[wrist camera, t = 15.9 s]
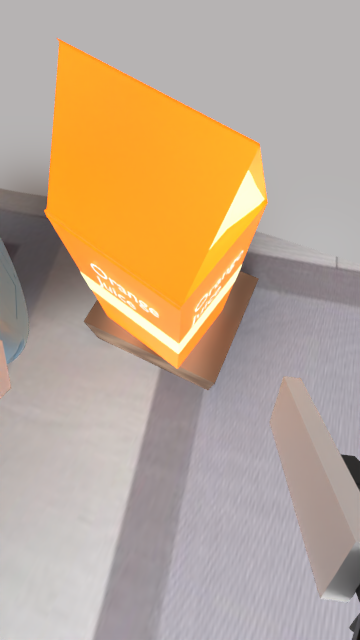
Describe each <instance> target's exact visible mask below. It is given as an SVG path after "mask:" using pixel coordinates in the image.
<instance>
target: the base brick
mask: <svg viewBox="0 0 360 640" xmlns="http://www.w3.org/2000/svg"><path fill="white" fill-rule="evenodd" d="M257 281H258V278H256V277H253V276H251V275H248V274H246V273H244V272H241V271H239V273H238V276H237V278H236V280H235V282H234V284H233V286H232V288H231V291H230V293H229V296H228V298H227V300H226V303H225V305H224V307H223V310H222V311H221V313H220V314H219V315H218V317H217V318H216V319H215V320H214V322H213V323H212V324H211V326H210V327H209V328H208V330H207V331H206V332H205V334H204V335H203V336H202V338H201V339H200V340H199V341H198V343H197V344H196V345H195V347H194V348H193V349H192V351H191V352H190V353H189V355H188V356H187V357H186V359H185V360H184V361H183V362H182V364H181V365H180V366H179V368H178V369H177V368H175V367H174V366H173V365H172V364H170V363H169V362H168V361H166V360H165V359H164V358H162V357H161V356H160V355H158V354H157V353H156V352H154V351H153V350H152V349H150V348H149V347H148V346H146V345H145V344H144V343H142V342H141V341H140V340H139V339H137V338H136V337H135V336H133V335H132V334H131V333H129V332H128V331H127V330H125V329H124V328H123V327H121V326H120V325H119V324H117V323H116V322H115V321H113V320H112V319H111V318H110V317H108V316H107V314H106V312H105V311H104V309H103V307H102V306H101V304H100V303H99V301H98V300H97V301H96V303H95V304H94V306H93V307H92V309H91V311H90V312H89V314H88V315H87V317H86V319H85V320H84V322H85V324H86V325H87V326H88V327H89V328H90V329H91V330H92V331H93V332H94V333H95V335H96V336H97V337H98V338H100V339H102V340H104V341H106V342H108V343H110V344H112V345H114V346H117V347H119V348H121V349H123V350H125V351H127V352H129V353H131V354H133V355H135V356H137V357H140V358H142V359H144V360H146V361H148V362H150V363H152V364H154V365H156V366H158V367H160V368H163V369H165V370H167V371H169V372H171V373H173V374H175V375H177V376H179V377H181V378H184V379H186V380H188V381H190V382H192V383H194V384H196V385H198V386H200V387H202V388H204V389H207V390H209V389H210V388H211V387H212V386H213V384H214V383H215V381H216V379H217V377H218V374H219V372H220V369H221V367H222V365H223V362H224V360H225V358H226V355H227V353H228V350H229V348H230V346H231V343H232V341H233V339H234V336H235V334H236V331H237V329H238V327H239V324H240V322H241V319H242V317H243V315H244V312H245V310H246V308H247V305H248V303H249V300H250V298H251V296H252V293H253V291H254V289H255V286H256V284H257Z"/></svg>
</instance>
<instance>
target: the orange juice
mask: <svg viewBox="0 0 360 640" xmlns="http://www.w3.org/2000/svg"><path fill="white" fill-rule="evenodd" d="M58 40H59V55H58V68H57V82H56V94H55V107H54V120H53V134H52V146H51V159H50V173H49V185H48V198H47V209H45V210H44V212H45V214H46V217H47V218H48V219H49V220H50V222H51V223H52V225H53V227H54V228H55V230H56V232H57V233H58V235H59V237H60V238H61V240H62V242H63V243H64V245H65V247H66V248H67V250H68V251H69V253H70V255H71V256H72V258H73V260H74V261H75V263H76V265H77V266H78V268H79V270H80V273H81V274H82V276H83V277H84V279H85V281H86V282H87V284H88V286H89V287H90V289H92V291H93V293H94V294H95V296H96V298H97V299H98V301H99V303H100V304H101V306H102V307H103V309H104V311H105V312H106V314H107V316H108V317H110V318H111V319H112V320H113V321H115V322H116V323H117V324H119V325H120V326H121V327H123V328H124V329H125V330H127V331H128V332H129V333H131V334H132V335H133V336H135V337H136V338H137V339H139V340H140V341H141V342H142V343H144V344H145V345H146V346H148V347H149V348H150V349H152V350H153V351H154V352H156V353H157V354H158V355H160V356H161V357H162V358H164V359H165V360H166V361H168V362H169V363H170V364H172V365H173V366H174V367H175V368H177V369H178V368H179V366H180V365H181V364H182V362H183V361H184V360H185V359H186V357H187V356H188V355H189V353H190V352H191V351H192V349H193V348H194V347H195V345H196V344H197V343H198V341H199V340H200V339H201V338H202V336H203V335H204V334H205V332H206V331H207V330H208V328H209V327H210V326H211V324H212V323H213V322H214V320H215V319H216V318H217V317H218V315H219V314H220V313H221V311H222V310H223V307H224V305H225V303H226V300H227V298H228V296H229V293H230V291H231V288H232V286H233V284H234V282H235V280H236V278H237V276H238V273H239V271H240V269H241V266H242V262H243V260H244V257H245V255H246V253H247V250H248V248H249V245H250V243H251V241H252V238H253V236H254V233H255V231H256V229H257V226H258V224H259V221H260V219H261V217H262V214H263V212H264V210H265V207H266V205H267V196H266V188H265V182H264V174H263V166H262V159H261V151H260V144H259V143H257V142H255V141H254V140H252V139H250V138H248V137H246V136H244V135H242V134H240V133H238V132H236V131H234V130H232V129H230V128H229V127H227V126H225V125H222V124H221V123H219V122H217V121H215V120H213V119H211V118H209V117H207V116H206V115H204V114H202V113H200V112H198V111H196V110H194V109H192V108H190V107H188V106H186V105H184V104H182V103H180V102H179V101H177V100H175V99H173V98H171V97H169V96H167V95H165V94H163V93H161V92H159V91H157V90H156V89H154V88H152V87H150V86H148V85H146V84H144V83H142V82H140V81H138V80H136V79H134V78H133V77H131V76H129V75H127V74H125V73H123V72H121V71H119V70H117V69H115V68H113V67H111V66H109V65H108V64H106V63H104V62H102V61H100V60H98V59H96V58H94V57H92V56H90V55H88V54H86V53H84V52H83V51H81V50H79V49H77V48H75V47H73V46H71V45H69V44H67V43H65V42H63V41H61V40H60V39H58Z"/></svg>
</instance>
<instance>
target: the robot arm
mask: <svg viewBox="0 0 360 640" xmlns="http://www.w3.org/2000/svg"><path fill="white" fill-rule="evenodd" d="M28 334H29V319H28V312H27V307H26V302H25V298H24V295H23V291H22V288H21V285H20V282H19V279H18V276H17V273H16V271H15V268H14V266H13V263H12V261H11V259H10V256H9V254H8V252H7V250H6V248H5V245H4V243H3V241H2V239H1V237H0V398H1V397H2V396H3V395H4V394H5V393H6V392H7V391H8V390H9V389H10V388H11V384H10V379H9V374H8V368H7V364H9V363H10V362H12V361H13V360H14V359H15V358H17V357H18V356H19V355H20V354H21V352H22V351H23V349H24V347H25V345H26V342H27V339H28ZM270 425H271V429H272V432H273V436H274V439H275V443H276V446H277V450H278V453H279V457H280V460H281V463H282V467H283V470H284V474H285V477H286V481H287V484H288V488H289V491H290V495H291V498H292V502H293V505H294V509H295V512H296V516H297V519H298V523H299V526H300V530H301V533H302V537H303V540H304V544H305V547H306V551H307V554H308V558H309V561H310V565H311V568H312V572H313V575H314V579H315V582H316V586H317V589H318V593H319V596H320V599H326V600H333V601H339V602H346V603H348V602H349V601H350V599H351V598H352V597H353V595H354V594H355V592H356V594H357V596H358V599H359V601H360V461H359V460H358V459H357V458H356V457H355V456H349V455H341V454H340V453H339V451H338V449H337V447H336V445H335V443H334V441H333V439H332V437H331V435H330V434H329V432H328V430H327V428H326V426H325V424H324V422H323V420H322V418H321V416H320V414H319V412H318V411H317V409H316V407H315V405H314V403H313V401H312V399H311V397H310V395H309V393H308V391H307V390H306V388H305V386H304V384H303V382H302V380H301V378H293V377H286V376H284V377H283V380H282V383H281V387H280V390H279V393H278V396H277V400H276V403H275V406H274V409H273V413H272V416H271V419H270ZM349 628H350V629H351V630H352V631H353V632H354V634H353V638H352V640H360V613H359V615H358V616H357V617H356V619H355V620H354V621H353V623H352V624H351V626H350V627H349Z"/></svg>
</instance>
